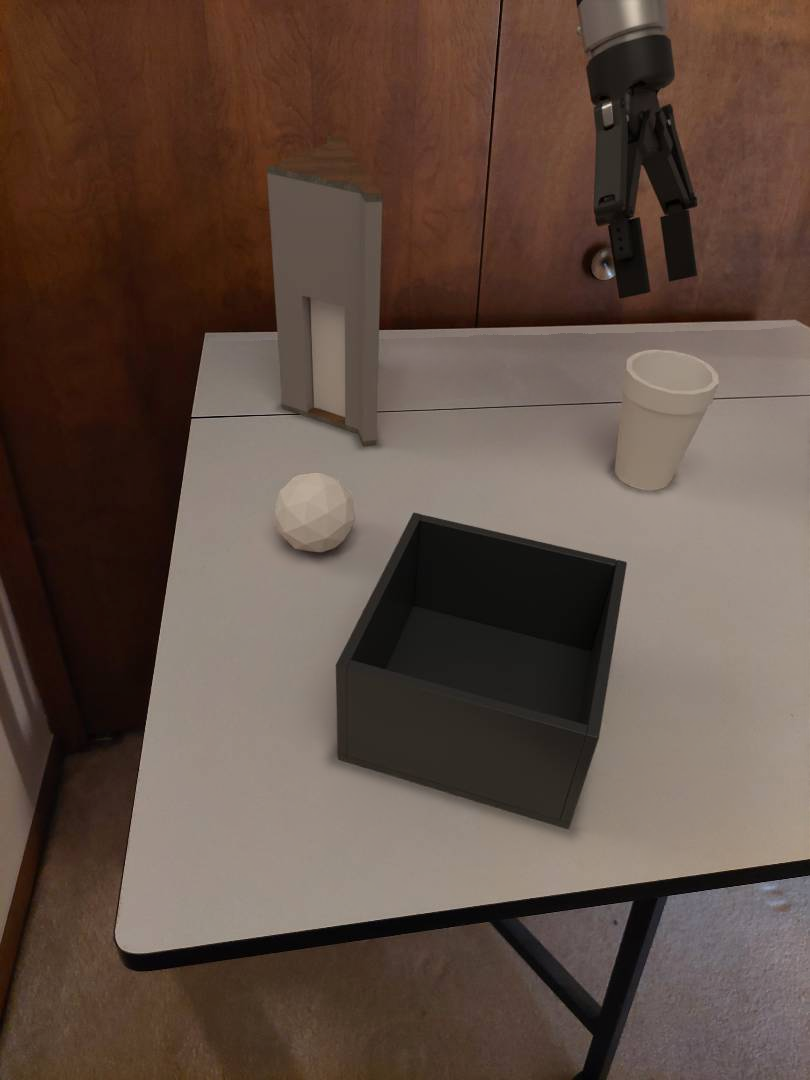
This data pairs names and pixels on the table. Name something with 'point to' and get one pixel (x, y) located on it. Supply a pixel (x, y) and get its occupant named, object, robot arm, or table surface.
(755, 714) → the table surface
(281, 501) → the geometric ball
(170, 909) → the table surface
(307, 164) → the cabinet
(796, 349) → the table surface
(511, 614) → the waste bin
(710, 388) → the foam cup
